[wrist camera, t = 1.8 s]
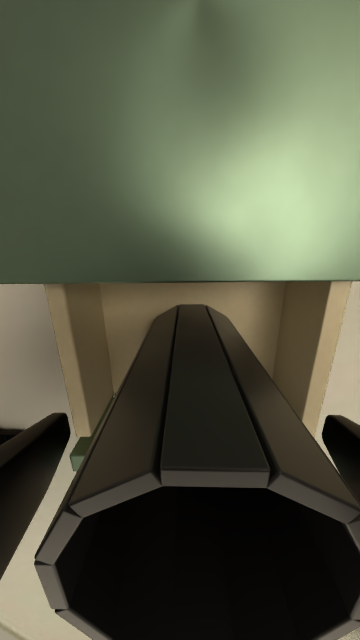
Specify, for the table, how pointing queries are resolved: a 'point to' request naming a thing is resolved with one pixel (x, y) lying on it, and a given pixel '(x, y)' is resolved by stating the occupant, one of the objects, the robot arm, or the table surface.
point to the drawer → (225, 297)
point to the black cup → (203, 505)
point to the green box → (179, 141)
